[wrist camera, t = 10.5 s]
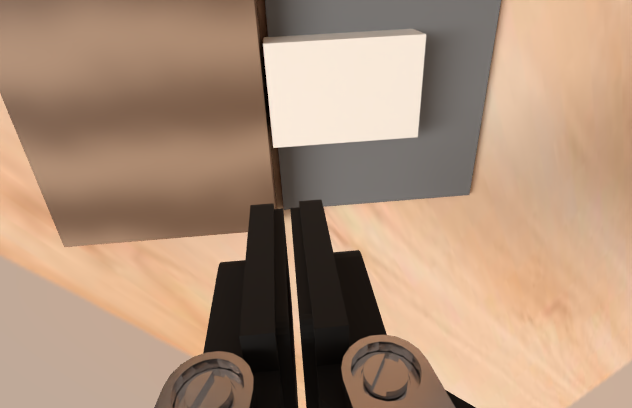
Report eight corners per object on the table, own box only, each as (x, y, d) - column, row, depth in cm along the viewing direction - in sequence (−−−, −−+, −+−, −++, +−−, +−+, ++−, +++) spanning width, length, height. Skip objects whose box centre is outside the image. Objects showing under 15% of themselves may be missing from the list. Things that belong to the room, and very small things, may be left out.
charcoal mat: (257, -89, 22) (256, -90, 21) (513, -98, 23) (517, -99, 22) (283, 206, 31) (283, 209, 30) (467, 192, 31) (469, 194, 31)
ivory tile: (263, 37, 24) (262, 43, 22) (412, 28, 25) (426, 34, 23) (273, 133, 27) (273, 147, 25) (406, 124, 28) (417, 137, 26)
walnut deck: (-31, -79, 21) (-74, -86, 18) (247, -89, 22) (244, -97, 19) (82, 223, 30) (64, 247, 27) (276, 207, 31) (277, 229, 28)
